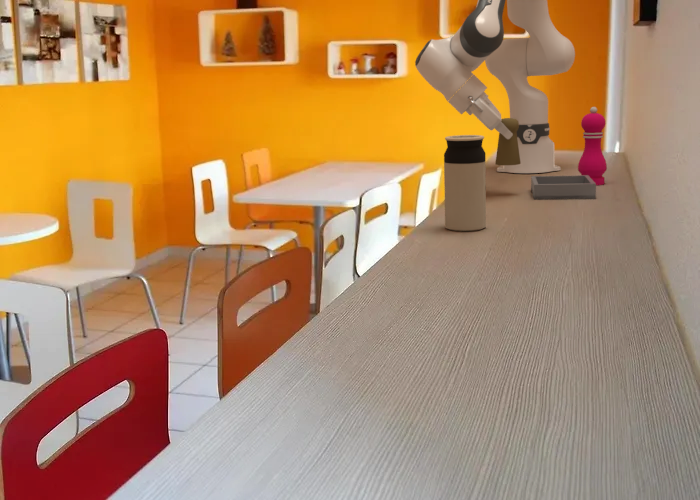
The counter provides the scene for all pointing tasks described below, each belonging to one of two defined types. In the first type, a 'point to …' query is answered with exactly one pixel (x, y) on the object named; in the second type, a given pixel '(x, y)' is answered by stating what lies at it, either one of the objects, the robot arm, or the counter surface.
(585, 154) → the pepper mill
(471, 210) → the travel mug
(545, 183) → the tray
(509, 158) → the brown pawn
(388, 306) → the counter surface
